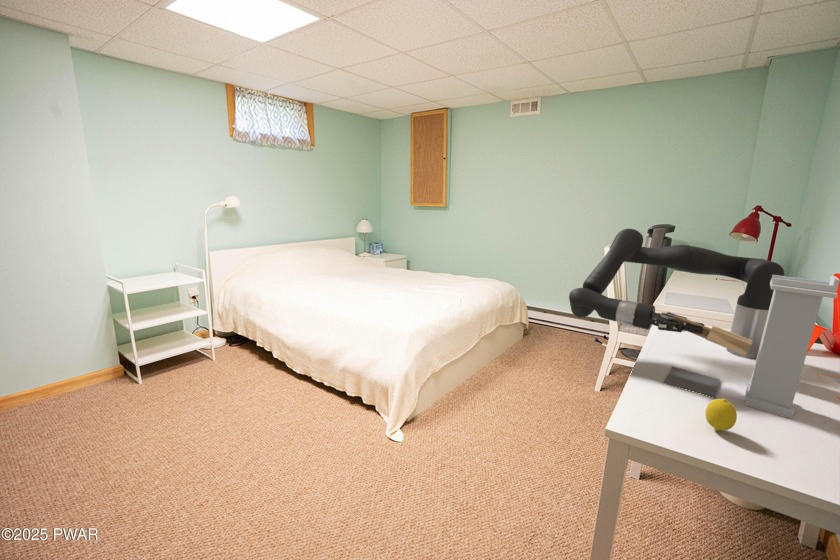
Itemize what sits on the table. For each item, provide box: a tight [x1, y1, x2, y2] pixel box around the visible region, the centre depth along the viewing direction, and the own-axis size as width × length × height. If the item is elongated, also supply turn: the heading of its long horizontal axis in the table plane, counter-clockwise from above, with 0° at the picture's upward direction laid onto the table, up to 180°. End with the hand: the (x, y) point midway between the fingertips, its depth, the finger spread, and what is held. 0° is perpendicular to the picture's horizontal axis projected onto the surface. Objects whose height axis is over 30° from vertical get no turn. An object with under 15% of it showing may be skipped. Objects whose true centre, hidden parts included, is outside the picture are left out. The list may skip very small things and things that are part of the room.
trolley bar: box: [674, 314, 752, 355], centre depth 106 cm, size 4×18×4 cm, turn 48°
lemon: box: [704, 398, 738, 432], centre depth 87 cm, size 6×6×8 cm
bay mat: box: [663, 366, 721, 400], centre depth 111 cm, size 14×12×1 cm
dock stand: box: [744, 275, 840, 420], centre depth 96 cm, size 11×11×35 cm
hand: (702, 329), depth 107 cm, fingers closed on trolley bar, 2 cm apart
